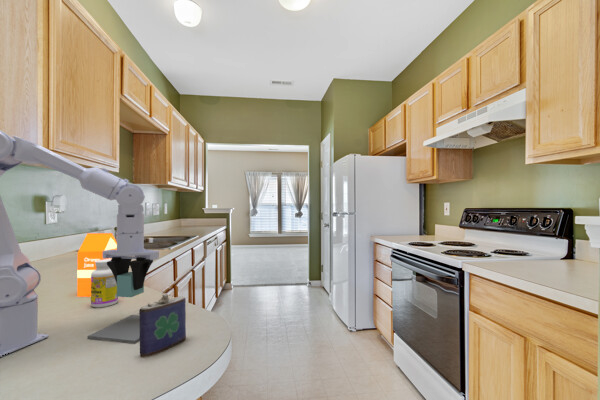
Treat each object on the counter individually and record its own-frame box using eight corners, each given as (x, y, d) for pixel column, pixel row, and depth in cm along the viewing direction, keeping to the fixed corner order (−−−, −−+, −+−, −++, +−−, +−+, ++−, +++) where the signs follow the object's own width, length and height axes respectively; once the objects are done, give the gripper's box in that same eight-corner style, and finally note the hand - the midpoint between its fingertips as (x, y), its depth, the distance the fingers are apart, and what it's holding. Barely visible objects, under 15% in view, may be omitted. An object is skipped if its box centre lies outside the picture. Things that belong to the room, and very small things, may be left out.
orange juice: (103, 296, 89) (104, 234, 90) (76, 296, 89) (77, 234, 90) (119, 289, 97) (120, 232, 97) (95, 289, 97) (95, 232, 98)
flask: (181, 336, 61) (181, 286, 61) (189, 339, 59) (189, 289, 59) (136, 354, 53) (136, 298, 53) (144, 359, 51) (144, 301, 52)
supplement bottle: (86, 306, 80) (86, 261, 81) (110, 299, 86) (110, 257, 87) (98, 309, 77) (98, 263, 78) (123, 302, 83) (123, 259, 84)
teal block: (131, 297, 66) (131, 276, 66) (116, 296, 67) (116, 275, 67) (143, 292, 70) (143, 272, 70) (130, 291, 71) (130, 271, 71)
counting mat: (134, 343, 57) (134, 340, 57) (87, 338, 60) (87, 335, 60) (172, 320, 69) (172, 318, 69) (131, 317, 72) (131, 314, 72)
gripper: (167, 231, 71) (167, 285, 71) (119, 231, 74) (119, 282, 74) (147, 234, 64) (146, 293, 64) (94, 234, 67) (94, 290, 67)
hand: (130, 288), depth 68 cm, fingers closed on teal block, 4 cm apart
